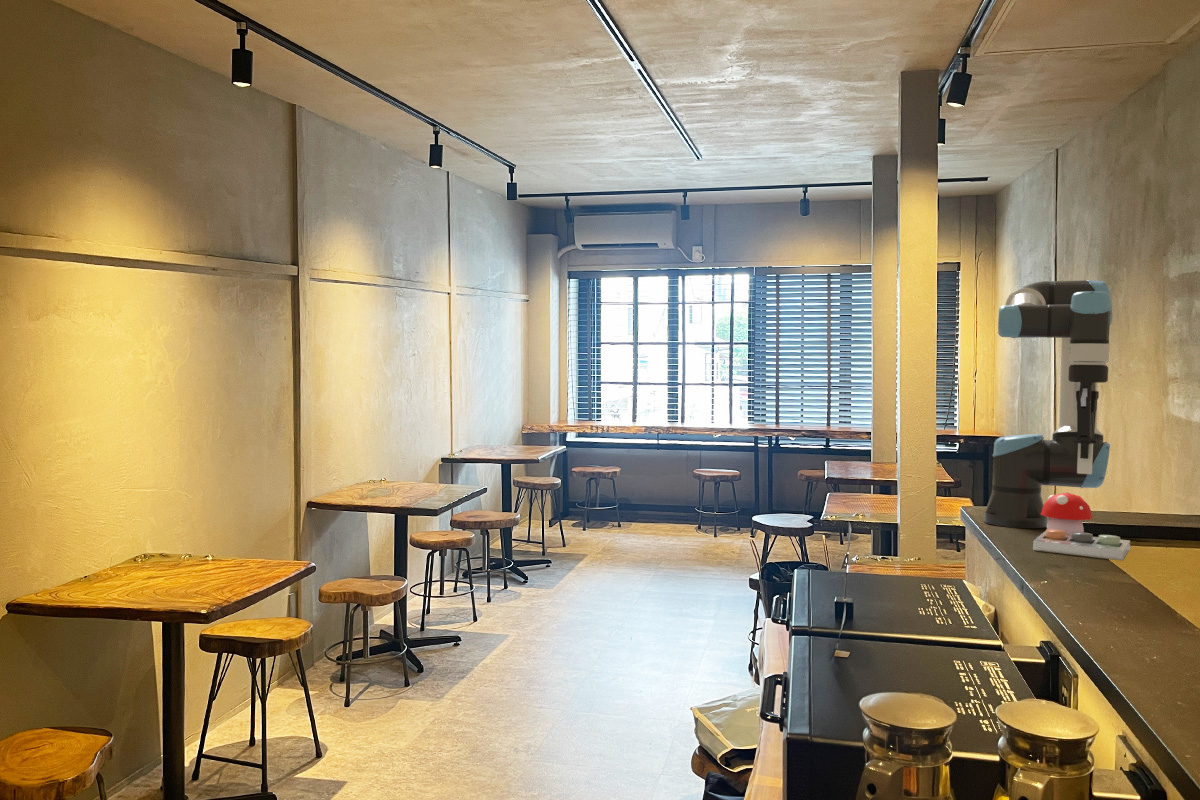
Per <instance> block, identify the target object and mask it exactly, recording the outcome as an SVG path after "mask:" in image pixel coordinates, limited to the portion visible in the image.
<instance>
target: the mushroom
mask: <svg viewBox="0 0 1200 800" xmlns="http://www.w3.org/2000/svg"><path fill="white" fill-rule="evenodd" d="M1043 504H1044V506H1043V509H1042V512H1041V515H1043V516H1046V517H1048V523H1047V527H1046V530H1047V529H1056V530H1063V531H1066V534H1072V532H1084V533H1085V530H1084V525H1083V521H1089V520H1092V519H1094V516H1093V513H1092V510H1091V508H1090V505H1089V504H1088V503H1087V502H1086V501H1085V500H1084V499H1083V498H1082V497H1081V495H1077V494H1074V493H1070V492H1063V493H1057V494H1052V495H1051V494H1050V495H1049V496H1048V498H1047V500H1046V501H1045V502H1043Z"/></svg>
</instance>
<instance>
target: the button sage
mask: <svg viewBox="0 0 1200 800" xmlns="http://www.w3.org/2000/svg"><path fill="white" fill-rule="evenodd" d="M1098 537H1099V544H1101V545H1110V546H1119V547H1120V540H1121V536H1117V535H1114V534H1113V535H1111V534H1098Z"/></svg>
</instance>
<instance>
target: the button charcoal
mask: <svg viewBox="0 0 1200 800" xmlns="http://www.w3.org/2000/svg"><path fill="white" fill-rule="evenodd" d="M1093 537H1094V536H1093V533H1090V532H1089V533H1088V532H1085V531H1084V532H1072V541H1073V542H1082V543H1091V544H1092V540H1093Z"/></svg>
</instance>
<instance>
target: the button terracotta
mask: <svg viewBox="0 0 1200 800" xmlns="http://www.w3.org/2000/svg"><path fill="white" fill-rule="evenodd" d="M1045 532H1046V535H1045V538H1046V539H1055V540H1064V541H1066V531H1063V530H1056V529H1047V528H1046V529H1045Z"/></svg>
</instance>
